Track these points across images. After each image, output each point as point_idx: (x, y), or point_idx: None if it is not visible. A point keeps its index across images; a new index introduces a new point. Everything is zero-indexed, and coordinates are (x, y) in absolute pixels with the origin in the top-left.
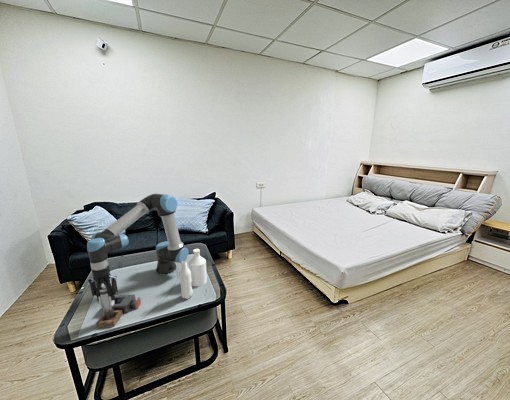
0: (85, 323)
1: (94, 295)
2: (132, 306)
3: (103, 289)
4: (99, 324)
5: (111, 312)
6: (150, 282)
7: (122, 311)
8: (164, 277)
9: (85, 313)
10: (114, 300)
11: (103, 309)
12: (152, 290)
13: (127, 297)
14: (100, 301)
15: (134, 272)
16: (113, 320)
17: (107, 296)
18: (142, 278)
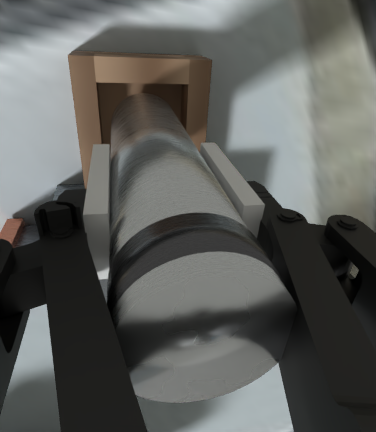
0: (295, 111)
1: (328, 220)
2: None
3: (199, 312)
4: (186, 57)
5: (113, 125)
6: None
7: None
8: (22, 428)
9: (324, 194)
10: None
11: (176, 124)
12: (24, 352)
13: (103, 290)
14: (222, 171)
15: (205, 429)
16: (80, 72)
17: (123, 209)
18: (144, 408)
